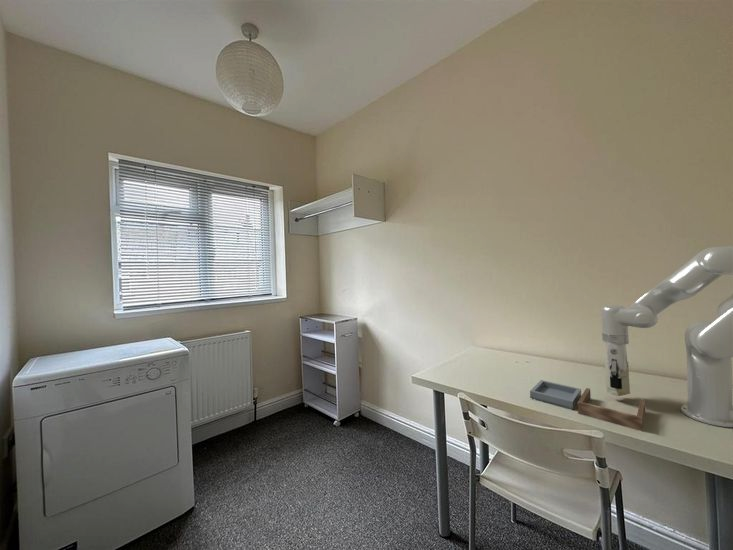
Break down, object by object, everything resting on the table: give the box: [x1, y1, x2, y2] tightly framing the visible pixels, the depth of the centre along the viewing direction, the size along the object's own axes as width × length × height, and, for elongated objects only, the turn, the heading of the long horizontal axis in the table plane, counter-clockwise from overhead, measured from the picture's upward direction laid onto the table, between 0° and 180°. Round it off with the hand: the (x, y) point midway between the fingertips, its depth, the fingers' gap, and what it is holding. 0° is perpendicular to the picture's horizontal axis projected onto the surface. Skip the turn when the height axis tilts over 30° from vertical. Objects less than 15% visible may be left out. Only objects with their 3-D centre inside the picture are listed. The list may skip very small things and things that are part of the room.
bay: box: [577, 387, 646, 432], centre depth 100 cm, size 16×15×4 cm
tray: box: [529, 379, 582, 411], centre depth 113 cm, size 14×14×3 cm
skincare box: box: [604, 360, 631, 397], centre depth 109 cm, size 6×4×12 cm
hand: (617, 384), depth 109 cm, fingers closed on skincare box, 7 cm apart
